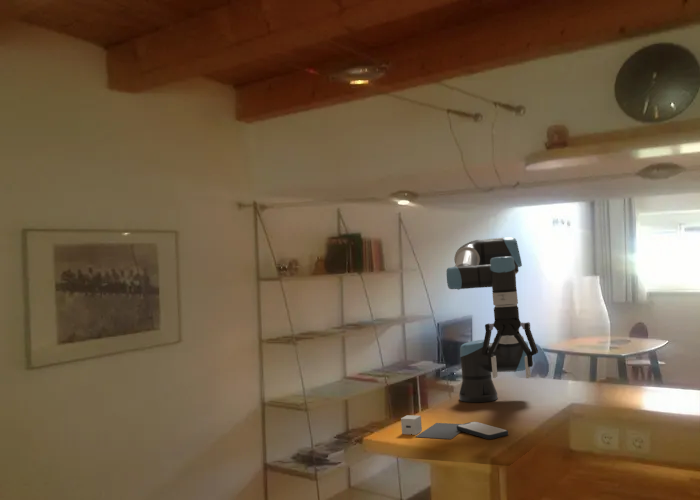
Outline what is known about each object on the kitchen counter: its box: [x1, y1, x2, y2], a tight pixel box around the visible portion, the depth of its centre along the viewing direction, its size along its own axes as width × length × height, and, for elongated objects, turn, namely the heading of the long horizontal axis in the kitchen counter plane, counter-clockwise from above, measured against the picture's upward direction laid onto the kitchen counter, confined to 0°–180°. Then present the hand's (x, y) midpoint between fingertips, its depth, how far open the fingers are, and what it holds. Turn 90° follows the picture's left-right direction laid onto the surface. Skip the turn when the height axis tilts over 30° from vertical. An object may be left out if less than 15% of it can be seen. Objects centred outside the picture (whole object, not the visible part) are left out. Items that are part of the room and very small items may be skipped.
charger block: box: [400, 414, 423, 436], centre depth 210 cm, size 5×5×5 cm
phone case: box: [457, 421, 509, 440], centre depth 203 cm, size 9×2×16 cm
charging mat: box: [415, 422, 462, 440], centre depth 209 cm, size 19×12×1 cm, turn 152°
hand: (511, 377), depth 198 cm, fingers open, 10 cm apart
